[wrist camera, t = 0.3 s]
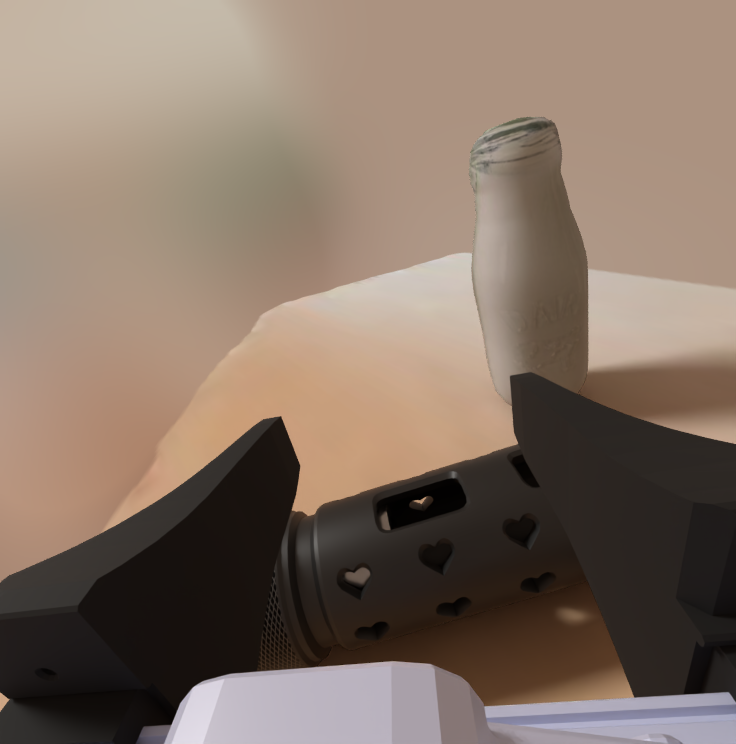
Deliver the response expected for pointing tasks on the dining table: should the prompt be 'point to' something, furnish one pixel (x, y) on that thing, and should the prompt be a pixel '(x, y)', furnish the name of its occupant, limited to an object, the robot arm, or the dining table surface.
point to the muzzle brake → (413, 559)
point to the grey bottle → (528, 258)
